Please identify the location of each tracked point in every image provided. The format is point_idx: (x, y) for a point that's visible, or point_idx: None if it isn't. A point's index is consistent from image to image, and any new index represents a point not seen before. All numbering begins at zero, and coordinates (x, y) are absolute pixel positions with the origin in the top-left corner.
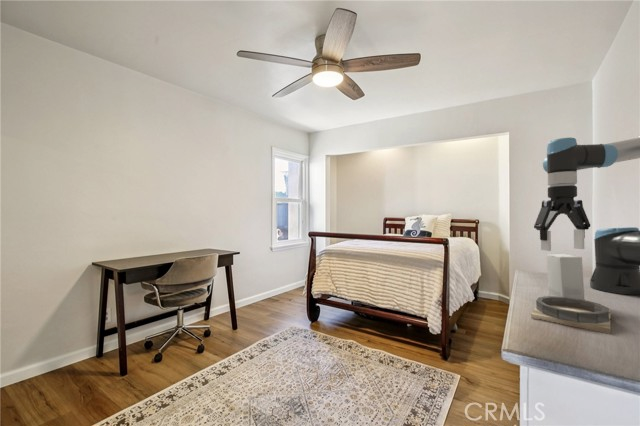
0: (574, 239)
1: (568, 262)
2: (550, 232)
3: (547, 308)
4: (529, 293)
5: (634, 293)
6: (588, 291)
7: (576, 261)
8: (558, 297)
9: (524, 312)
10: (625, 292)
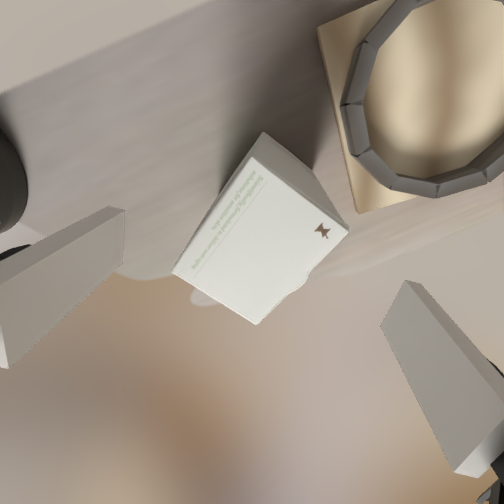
0: (85, 294)
1: (314, 195)
2: (498, 394)
3: None
4: None
5: None
6: (71, 206)
7: (281, 170)
8: (383, 163)
9: (483, 195)
10: None
